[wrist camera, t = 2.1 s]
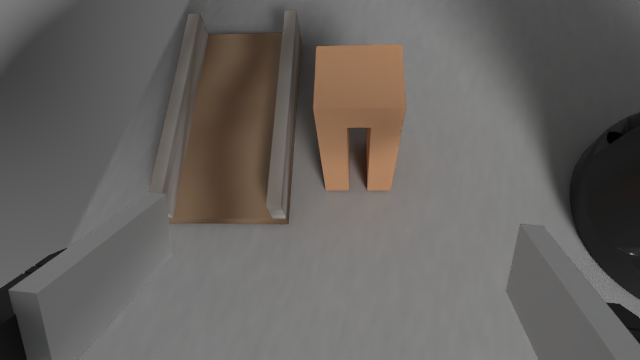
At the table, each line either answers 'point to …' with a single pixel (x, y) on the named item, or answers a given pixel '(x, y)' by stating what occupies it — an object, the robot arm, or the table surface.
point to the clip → (359, 109)
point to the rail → (230, 127)
